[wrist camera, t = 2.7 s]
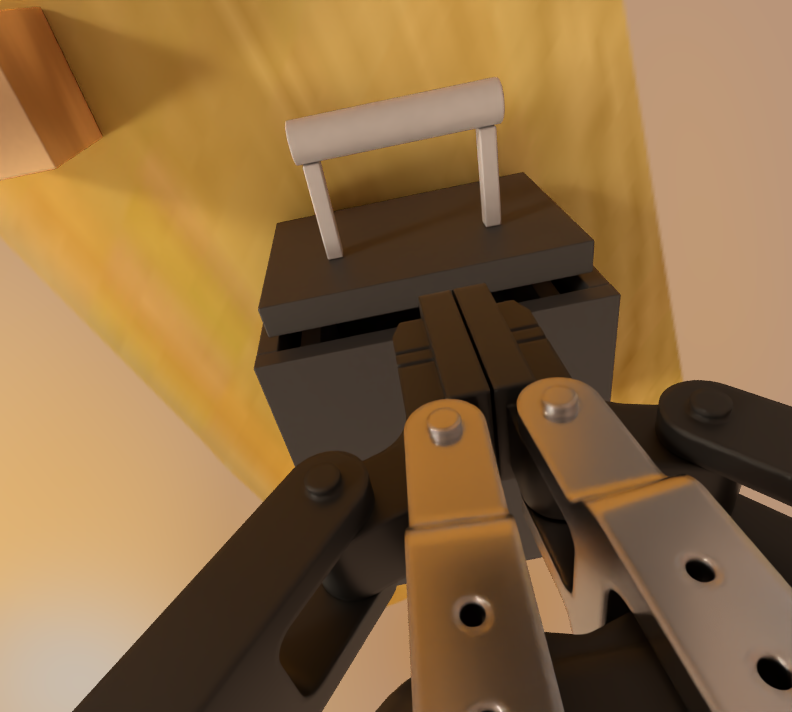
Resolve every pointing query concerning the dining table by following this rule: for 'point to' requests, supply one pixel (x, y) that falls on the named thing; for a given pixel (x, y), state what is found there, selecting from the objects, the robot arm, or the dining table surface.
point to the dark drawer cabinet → (380, 385)
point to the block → (38, 98)
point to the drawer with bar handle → (412, 224)
